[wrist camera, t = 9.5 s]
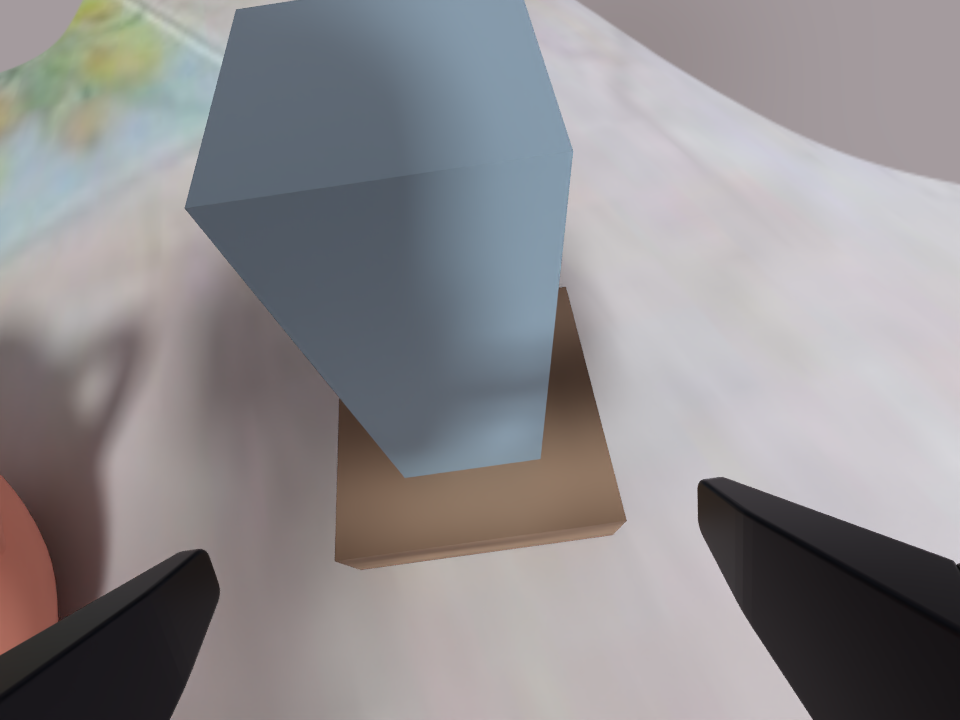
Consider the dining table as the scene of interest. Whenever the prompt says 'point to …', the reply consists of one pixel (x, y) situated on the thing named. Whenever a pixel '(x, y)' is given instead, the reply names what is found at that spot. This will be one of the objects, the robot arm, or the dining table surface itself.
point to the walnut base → (484, 483)
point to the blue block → (398, 212)
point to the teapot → (23, 574)
